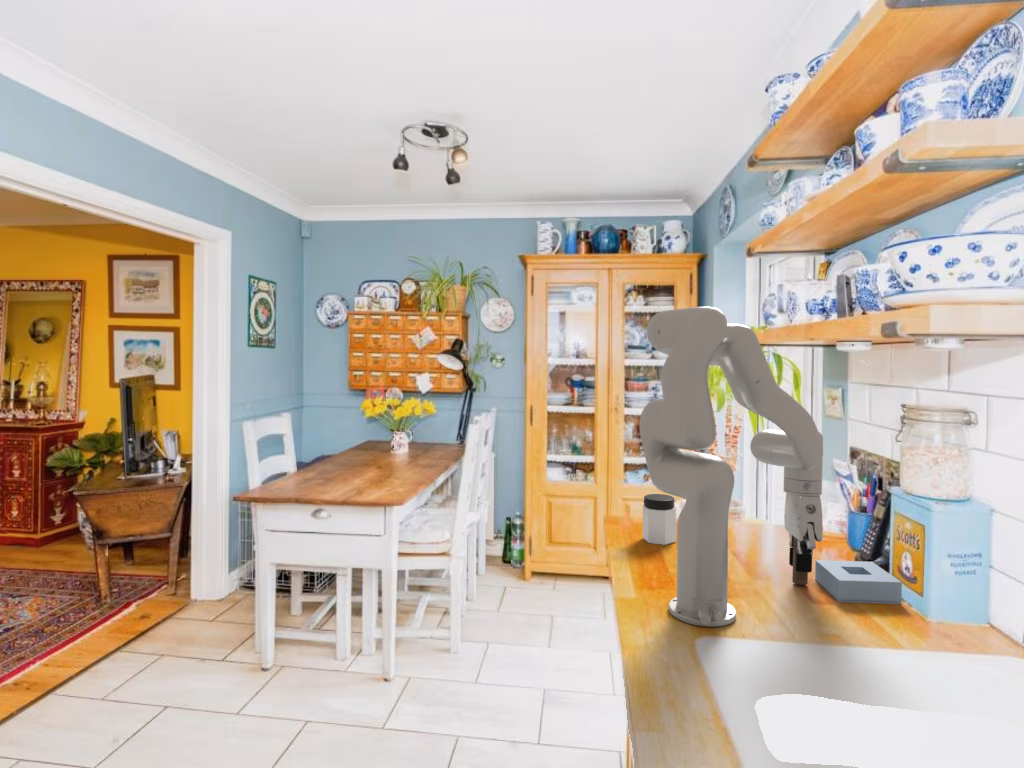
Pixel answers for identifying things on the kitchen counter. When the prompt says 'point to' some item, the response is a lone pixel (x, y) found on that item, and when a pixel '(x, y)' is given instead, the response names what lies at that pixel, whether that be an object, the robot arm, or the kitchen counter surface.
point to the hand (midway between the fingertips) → (800, 567)
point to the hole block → (858, 582)
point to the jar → (659, 519)
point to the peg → (797, 577)
